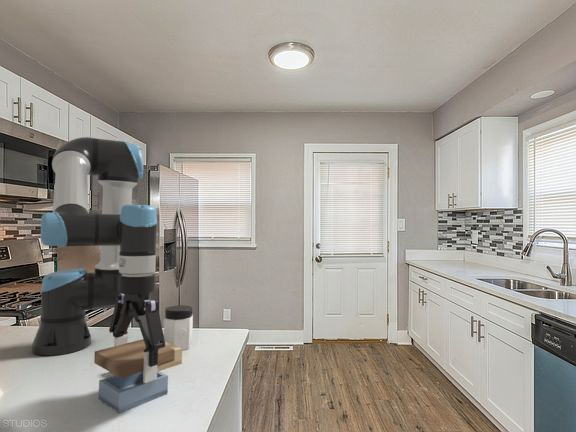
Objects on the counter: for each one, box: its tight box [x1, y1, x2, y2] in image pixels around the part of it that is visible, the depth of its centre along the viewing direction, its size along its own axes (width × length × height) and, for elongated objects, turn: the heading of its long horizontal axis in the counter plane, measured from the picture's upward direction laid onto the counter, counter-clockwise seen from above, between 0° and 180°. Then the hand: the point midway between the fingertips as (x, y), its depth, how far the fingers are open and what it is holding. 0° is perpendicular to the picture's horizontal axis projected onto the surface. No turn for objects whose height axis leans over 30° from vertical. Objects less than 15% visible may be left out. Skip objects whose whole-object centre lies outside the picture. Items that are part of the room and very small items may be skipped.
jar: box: [163, 304, 194, 351], centre depth 110 cm, size 9×8×12 cm
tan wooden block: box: [157, 342, 183, 372], centre depth 94 cm, size 8×14×4 cm, turn 142°
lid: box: [93, 339, 175, 378], centre depth 78 cm, size 12×12×2 cm
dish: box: [98, 371, 169, 414], centre depth 78 cm, size 9×11×4 cm
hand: (134, 372), depth 78 cm, fingers closed on lid, 12 cm apart
